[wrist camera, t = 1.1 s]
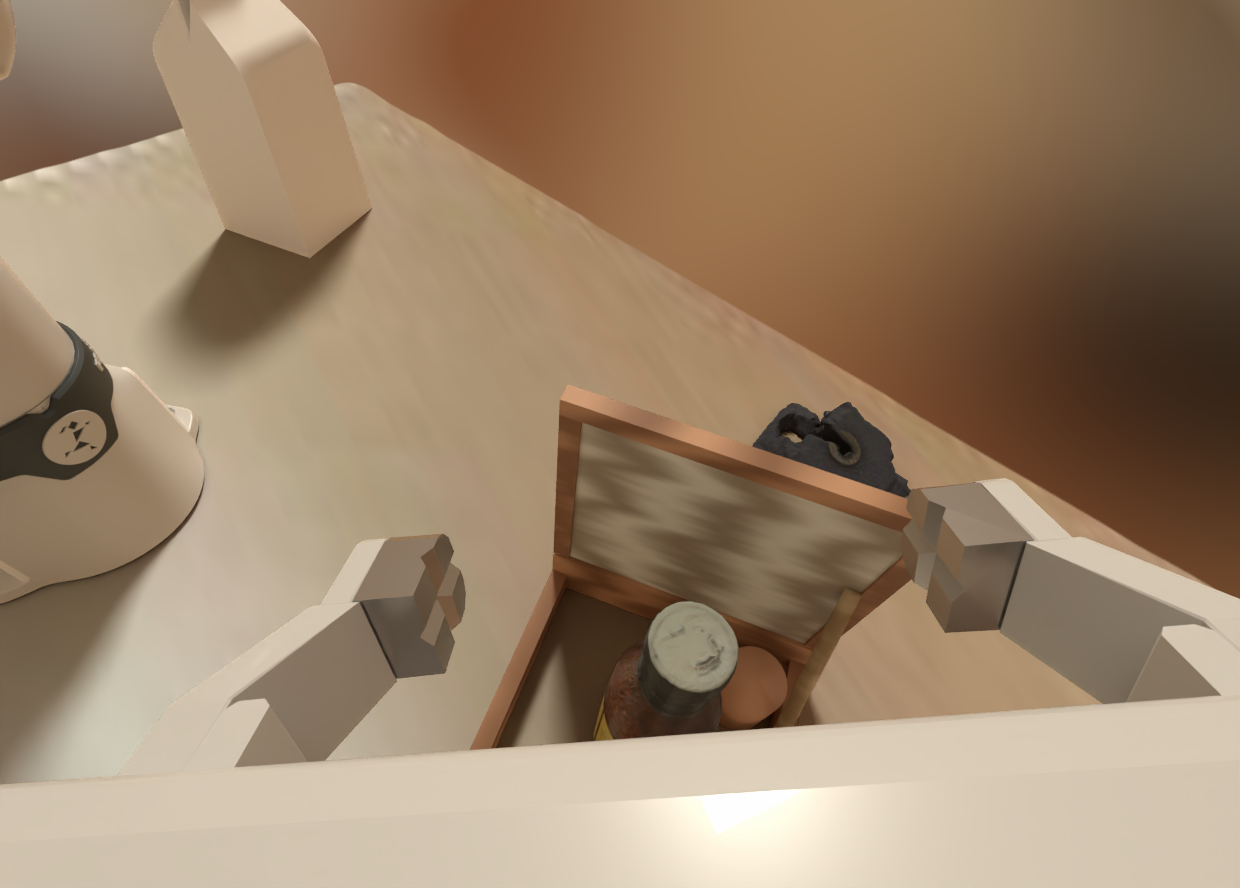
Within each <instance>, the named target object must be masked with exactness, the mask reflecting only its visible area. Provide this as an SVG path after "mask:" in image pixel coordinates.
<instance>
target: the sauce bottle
mask: <svg viewBox="0 0 1240 888" xmlns="http://www.w3.org/2000/svg"><path fill="white" fill-rule="evenodd" d="M738 652H739V647H738V642H737V638H736V636H735V634H734V631H733V629H732V628H731V626H730V625H729V623H728V622H727V621H726V620H725V618H724V617H723V616H722V615H721V614H719V613H718V612H717V611H715V610H714V609H712V608H710V607H708V606H706V605H704V604H701V603H696V602H692V601H686V602H677V603H675V604H672V605H670V606H667V607H666V608H664V609H663V610H662V611H660V612H659V613H658V614H657V615H656V616H655V618H654V620H653V621H652V623H651V625H650V627H649V629H648V631H647V633H646V635H645V639H644V640H642V641H639V642H637V643H636V644H634V645H633V646H631V647H630V648H628V650H627V651H625V652H624V653H623V654H622V657H621V658H620V659H619V661H618V662H617V664H616V666H615V668H614V670H613V673H612V676H611V678H610V680H609V682H608V684H607V687H606V690H605V693H604V697H603V701H602V704H601V708H600V711H599V715H598V719H597V722H596V726H595V730H594V735H593V740H594V741H603V740H616V739H630V738H644V737H657V736H671V735H685V734H699V733H712V732H716V731H717V728H718V725H719V722H720V718H721V712H722V698H721V691H722V690H723V689H724V688H725V687H726V686H727V684H728V683H729V681H730V679H731V678H732V676H733V675H734V673H735V670H736V667H737V662H738Z"/></svg>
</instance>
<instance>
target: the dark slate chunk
mask: <svg viewBox="0 0 1240 888" xmlns="http://www.w3.org/2000/svg"><path fill="white" fill-rule="evenodd" d="M819 424H820V425H821V426H819ZM787 431H791V432H793V433H796V434H797V435H798V436H800V437H802V438H803V440H802V441H801V442H798V443H794V442H792V441H791V440H790V438H788V437H785V438H784V437H783V436H781V435H780V433H782V432H787ZM753 447H755V448H758V449H761V450H764V451H767V452H770V453H773V454H776V455H779V456H782V457H785V458H788V459H791V460H794V461H797V462H800V463H803V464H806V465H809V466H812V467H814V468H817V469H820V470H823V471H826V472H829V473H832V474H835V475H838V476H841V477H844V478H847V479H850V480H853V481H856V482H859V483H862V484H865V485H868V486H871V487H874V488H877V489H880V490H883V491H886V492H889V493H892V494H895V495H898V496H901V497H904V498H906V499H908V496H909V494H910V492H911V490H910V489H909V488H908V486H907V485H906V484H907V482H908V481H907V480H906V479H904V478H903V477H901V476H900V475H898V474H897V473H895V469H894V467H893V464H892V462H891V461H892V459H893V458H894V455H893V453H892V450H891V442H890V440H889V439H888V438H887V437H886V436H885V435H884V434H883V433H882V432H881V431H880V430H878V429H877V428H876V427H874V426H872V425H871V424H870V423H869V422H867V421H865V420H864V418H863V417H862V416H861V414H860V413H859V412H858V410H857V409H856V408H855V407H853V406H852V405H851V403H850V402H846V403H844V404H842V405H840V406H839V407H837V408H836V409H834V410H833V411H825V412H824V417H823V418H822V420H821V422H820V421H819V418H818V416H817V415H816V414H815V413H813V412H810V411H809V410H808V409H807V408H805V407H802V406H801V405H800V404H795V403H791V404H789V405H788V406H787V407H786V408H784V409H782V410H781V411H780V412H779V413H778V415H777V417H776V418H775V419H774V420H773V421H772V422H771V423H770V424H769V425H768V426H767V428H766V429H765V430H764V431H763V433H762V434H761V435H760V436H759V438H758V439H757V440H756V442H755V443H754V444H753Z"/></svg>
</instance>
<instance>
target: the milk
mask: <svg viewBox="0 0 1240 888" xmlns="http://www.w3.org/2000/svg"><path fill="white" fill-rule="evenodd" d="M153 55H154V58H155V61H156V64H157V66H158V69H159V71H160V73H161V76H162V78H163V80H164V83H165V85H166V88H167V90H168V93H169V95H170V97H171V100H172V102H173V105H174V107H175V109H176V112H177V114H178V116H179V119H180V121H181V124H182V126H183V129H184V131H185V133H186V136H187V138H188V141H189V143H190V145H191V148H192V150H193V153H194V155H195V157H196V160H197V162H198V165H199V167H200V169H201V172H202V174H203V177H204V179H205V181H206V184H207V186H208V189H209V191H210V193H211V196H212V198H213V201H214V203H215V205H216V208H217V210H218V213H219V215H220V217H221V220H222V222H223V225H224V227H225V229H227V230H230V231H233V232H235V233H238V234H241V235H244V236H247V237H250V238H253V239H256V240H258V241H261V242H264V243H267V244H270V245H273V246H276V247H279V248H282V249H284V250H287V251H290V252H293V253H296V254H299V255H302V256H305V257H307V258H311V257H312V256H313V255H314V254H316V253H317V252H318V251H319V250H321V249H322V248H323V247H324V246H326V245H327V244H328V243H329V242H330V241H332V240H333V239H334V238H335V237H337V236H338V235H339V234H340V233H342V232H343V231H344V230H345V229H347V228H348V227H349V226H350V225H352V224H353V223H354V222H355V221H357V220H358V219H359V218H360V217H362V216H363V215H364V214H365V213H367V212H368V211H369V210H370V209H372V206H371V203H370V199H369V196H368V193H367V190H366V187H365V184H364V181H363V177H362V174H361V171H360V168H359V165H358V162H357V159H356V155H355V152H354V149H353V146H352V143H351V140H350V137H349V133H348V130H347V127H346V124H345V121H344V118H343V115H342V111H341V108H340V105H339V102H338V99H337V96H336V93H335V89H334V86H333V84H332V80H331V77H330V74H329V71H328V68H327V64H326V61H325V58H324V55H323V52H322V50H321V48H320V45H319V44H318V42H317V40H316V39H315V37H314V36H313V35H312V34H311V32H310V31H309V30H308V29H307V28H306V27H305V26H304V24H303V23H302V22H301V21H300V20H299V19H298V18H297V17H296V16H295V15H293V13H292V12H291V11H290V10H289V9H288V8H287V7H286V6H285V5H284V4H283V3H282V2H281V1H280V0H173V1H172V3H171V5H170V7H169V9H168V10H167V13H166V14H165V17H164V18H163V20H162V22H161V24H160V26H159V28H158V30H157V32H156V35H155V37H154V40H153Z"/></svg>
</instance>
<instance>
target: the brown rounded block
mask: <svg viewBox="0 0 1240 888" xmlns="http://www.w3.org/2000/svg"><path fill="white" fill-rule="evenodd" d="M786 694H787V678H786V675H785V672H784V669H783V668H782V666H781V664H780V663H779V661H778V660H777V659H776V658H775V657H774V656H773V655H772V654H770V653H769V652H767V651H766V650H764V649H761V648H758V647H754V646H746V647H741V648H739V652H738V662H737V667H736V670H735V673H734V675H733V676H732V678H731V679H730V681H729V683H728V684H727V686H726V687H725V688H724V689H723V690H722V691H721V698H722V712H721V718H720V722H719V723H720V724H721V725H723V726H724V727H726V728H728V729H731V730H736V731H740V730H747V729H750V728H752V727H753V726H755V725H756V724H758V723H759V722H760V721H762V720H763V719H764V718H766V717H767V716H769V715H770V714H771V713H773V712H774V711H776V710H777V709H778V708H779V707H780V706H781V705H782V704H783V702H784V700H785V697H786Z"/></svg>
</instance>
